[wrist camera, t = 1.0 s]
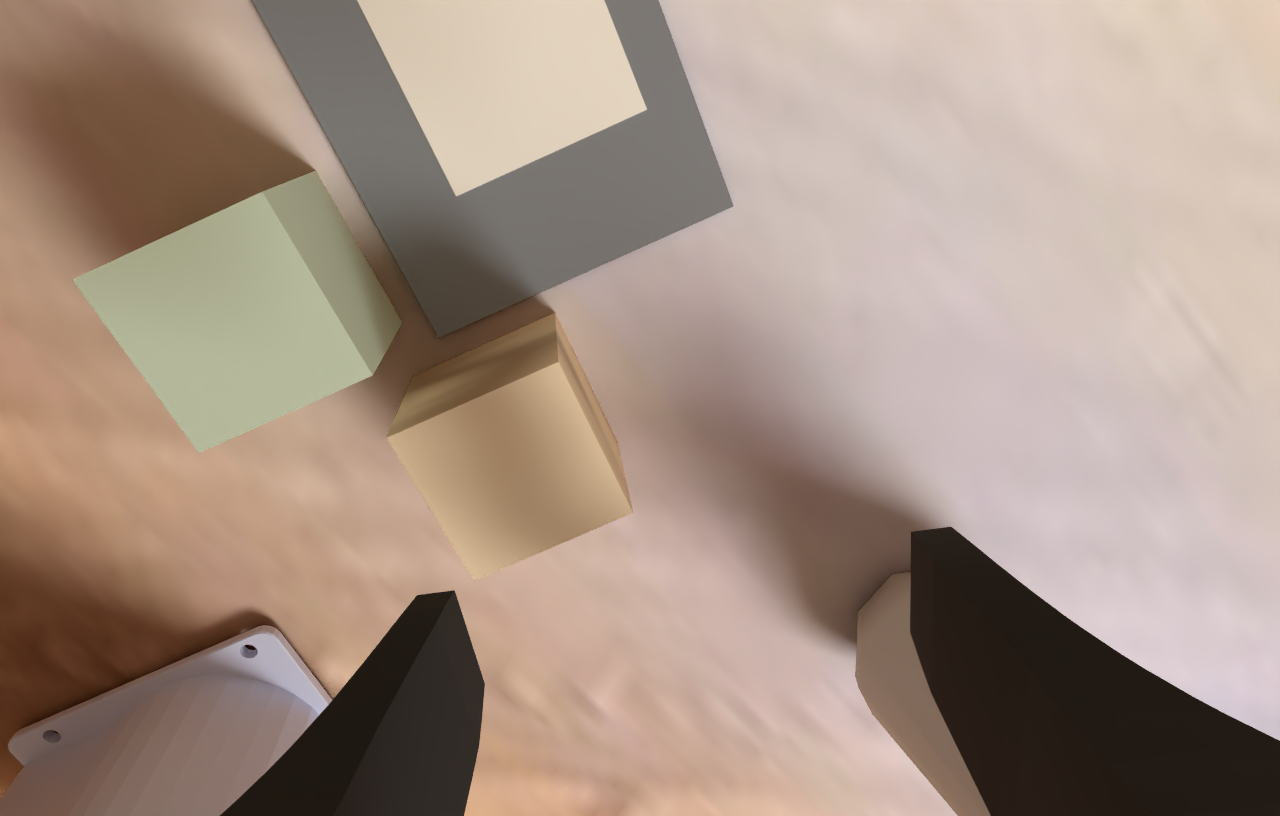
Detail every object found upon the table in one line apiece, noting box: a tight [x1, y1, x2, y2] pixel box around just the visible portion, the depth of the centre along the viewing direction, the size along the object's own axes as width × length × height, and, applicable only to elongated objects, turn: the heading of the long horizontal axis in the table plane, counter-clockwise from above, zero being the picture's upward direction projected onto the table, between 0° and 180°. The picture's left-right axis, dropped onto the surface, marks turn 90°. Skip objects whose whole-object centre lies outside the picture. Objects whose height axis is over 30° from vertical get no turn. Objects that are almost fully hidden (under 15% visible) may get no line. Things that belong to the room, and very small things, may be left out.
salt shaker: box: [855, 572, 991, 816], centre depth 23 cm, size 6×6×13 cm
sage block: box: [72, 171, 402, 453], centre depth 20 cm, size 4×4×4 cm
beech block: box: [386, 313, 633, 581], centre depth 22 cm, size 4×4×4 cm
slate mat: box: [252, 0, 733, 338], centre depth 21 cm, size 9×10×1 cm
